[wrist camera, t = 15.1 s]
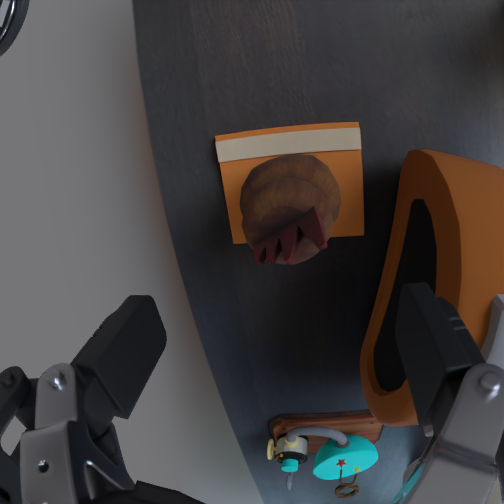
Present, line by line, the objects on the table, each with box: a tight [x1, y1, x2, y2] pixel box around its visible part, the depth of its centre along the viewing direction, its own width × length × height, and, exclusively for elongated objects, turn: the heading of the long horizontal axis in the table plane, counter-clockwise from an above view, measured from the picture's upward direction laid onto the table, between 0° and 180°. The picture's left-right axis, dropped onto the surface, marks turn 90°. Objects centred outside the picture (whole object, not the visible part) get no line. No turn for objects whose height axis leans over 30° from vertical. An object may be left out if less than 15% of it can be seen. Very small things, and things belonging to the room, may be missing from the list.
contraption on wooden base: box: [267, 410, 384, 498], centre depth 33 cm, size 14×18×15 cm
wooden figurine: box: [239, 154, 341, 266], centre depth 18 cm, size 7×6×15 cm
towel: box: [215, 122, 364, 244], centre depth 25 cm, size 12×10×1 cm
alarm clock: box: [360, 148, 504, 436], centre depth 19 cm, size 23×9×17 cm, turn 179°
